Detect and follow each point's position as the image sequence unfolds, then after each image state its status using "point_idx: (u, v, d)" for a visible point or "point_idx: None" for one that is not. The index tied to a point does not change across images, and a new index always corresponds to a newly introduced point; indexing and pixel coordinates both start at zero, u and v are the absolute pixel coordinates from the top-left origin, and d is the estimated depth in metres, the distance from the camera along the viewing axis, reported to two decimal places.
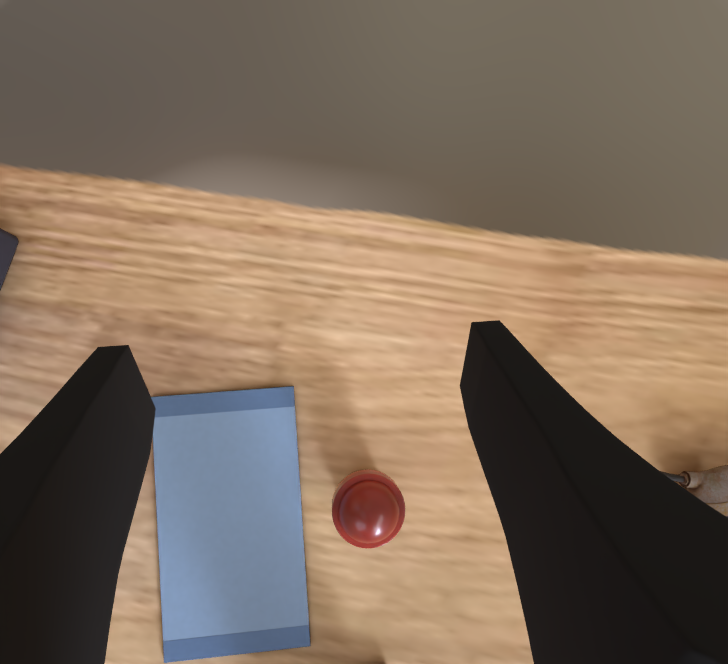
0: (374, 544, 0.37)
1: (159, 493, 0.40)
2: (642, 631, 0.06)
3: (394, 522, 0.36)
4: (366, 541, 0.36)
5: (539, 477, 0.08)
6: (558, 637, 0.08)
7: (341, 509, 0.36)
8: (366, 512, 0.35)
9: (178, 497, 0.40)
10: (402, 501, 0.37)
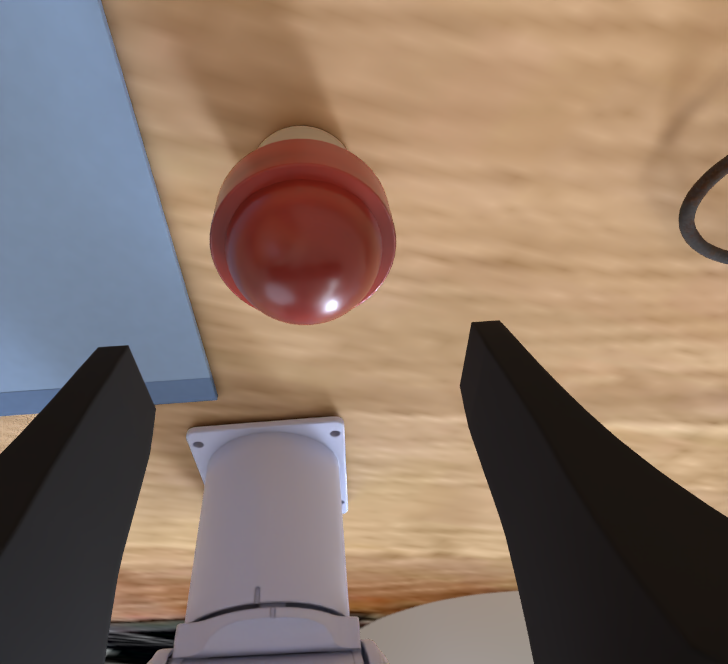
0: None
1: None
2: (642, 631, 0.06)
3: (366, 290, 0.14)
4: None
5: (539, 477, 0.08)
6: (558, 637, 0.08)
7: (230, 255, 0.14)
8: (291, 281, 0.13)
9: None
10: (391, 233, 0.14)
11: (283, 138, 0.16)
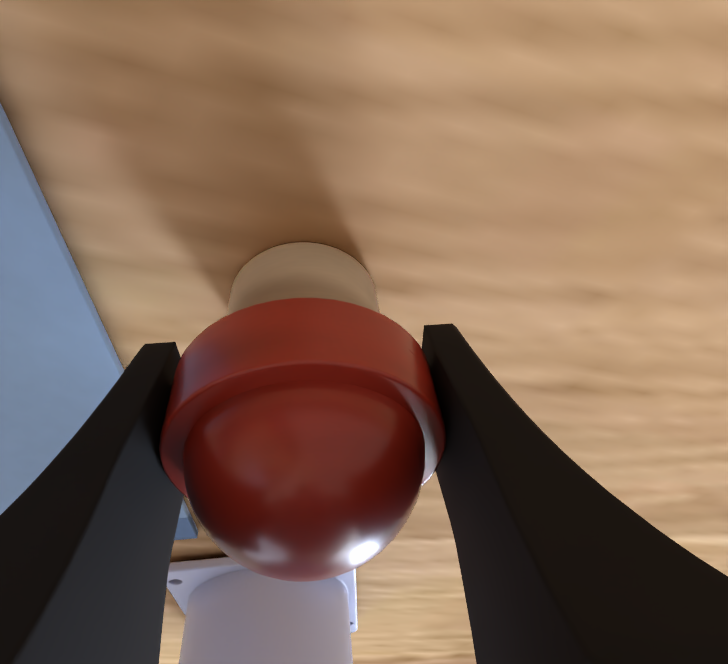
0: None
1: None
2: (552, 641, 0.06)
3: (402, 526, 0.09)
4: None
5: (477, 482, 0.08)
6: (494, 644, 0.08)
7: (188, 490, 0.09)
8: (286, 554, 0.08)
9: None
10: (439, 435, 0.09)
11: (275, 267, 0.11)
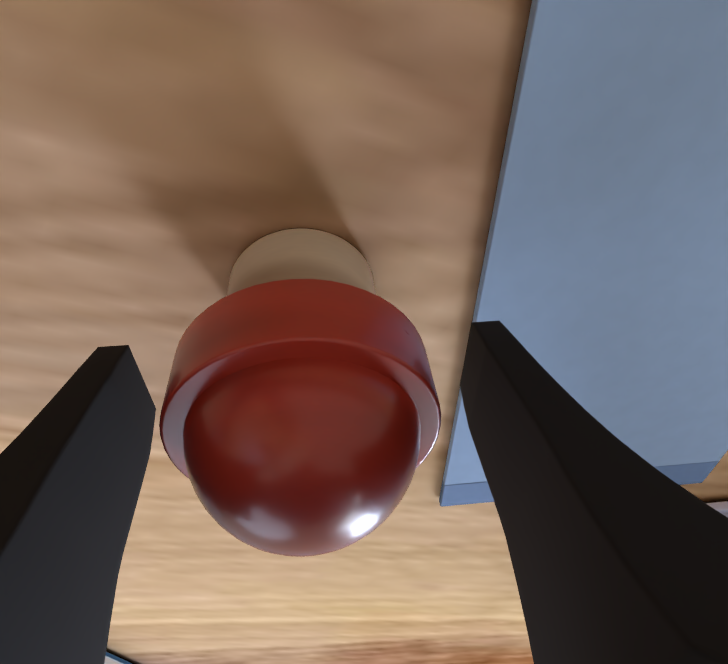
0: None
1: (504, 235, 0.12)
2: (643, 632, 0.06)
3: (398, 503, 0.09)
4: None
5: (539, 477, 0.08)
6: (558, 637, 0.08)
7: (188, 466, 0.09)
8: (283, 526, 0.08)
9: (558, 247, 0.13)
10: (434, 414, 0.10)
11: (274, 252, 0.11)
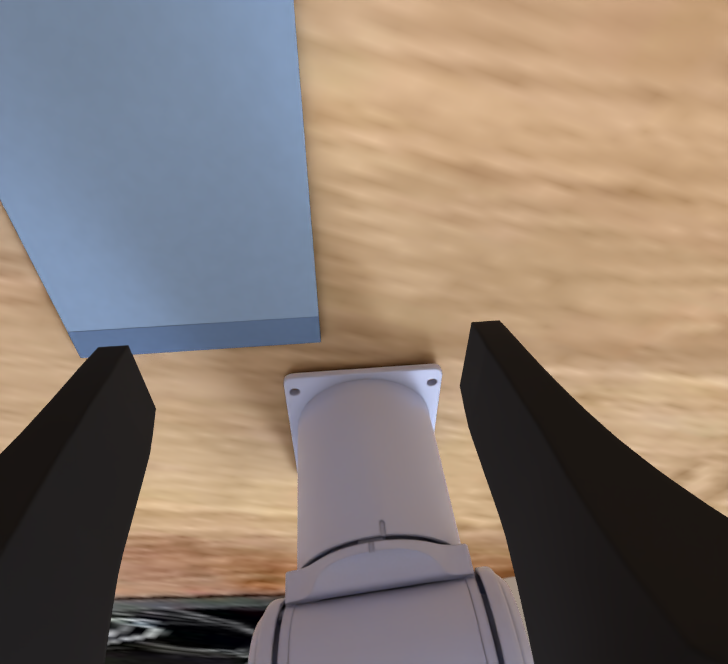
0: None
1: None
2: (642, 631, 0.06)
3: None
4: None
5: (539, 477, 0.08)
6: (558, 637, 0.08)
7: None
8: None
9: None
10: None
11: None
